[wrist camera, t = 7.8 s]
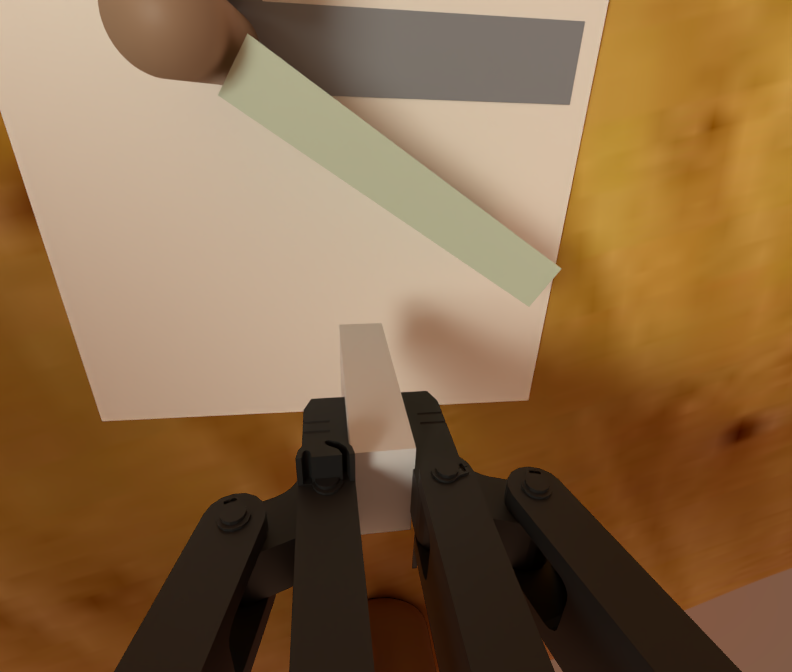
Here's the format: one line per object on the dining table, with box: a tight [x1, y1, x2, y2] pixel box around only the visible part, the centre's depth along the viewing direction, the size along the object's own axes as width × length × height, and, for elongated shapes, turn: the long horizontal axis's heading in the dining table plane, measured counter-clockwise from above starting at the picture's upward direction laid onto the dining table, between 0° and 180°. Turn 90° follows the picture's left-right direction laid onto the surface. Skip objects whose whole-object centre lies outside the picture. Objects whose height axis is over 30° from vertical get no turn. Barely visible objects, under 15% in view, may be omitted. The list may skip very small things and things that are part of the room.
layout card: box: [0, 0, 609, 421], centre depth 17 cm, size 22×32×1 cm
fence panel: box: [218, 33, 561, 307], centre depth 16 cm, size 2×11×6 cm, turn 55°
